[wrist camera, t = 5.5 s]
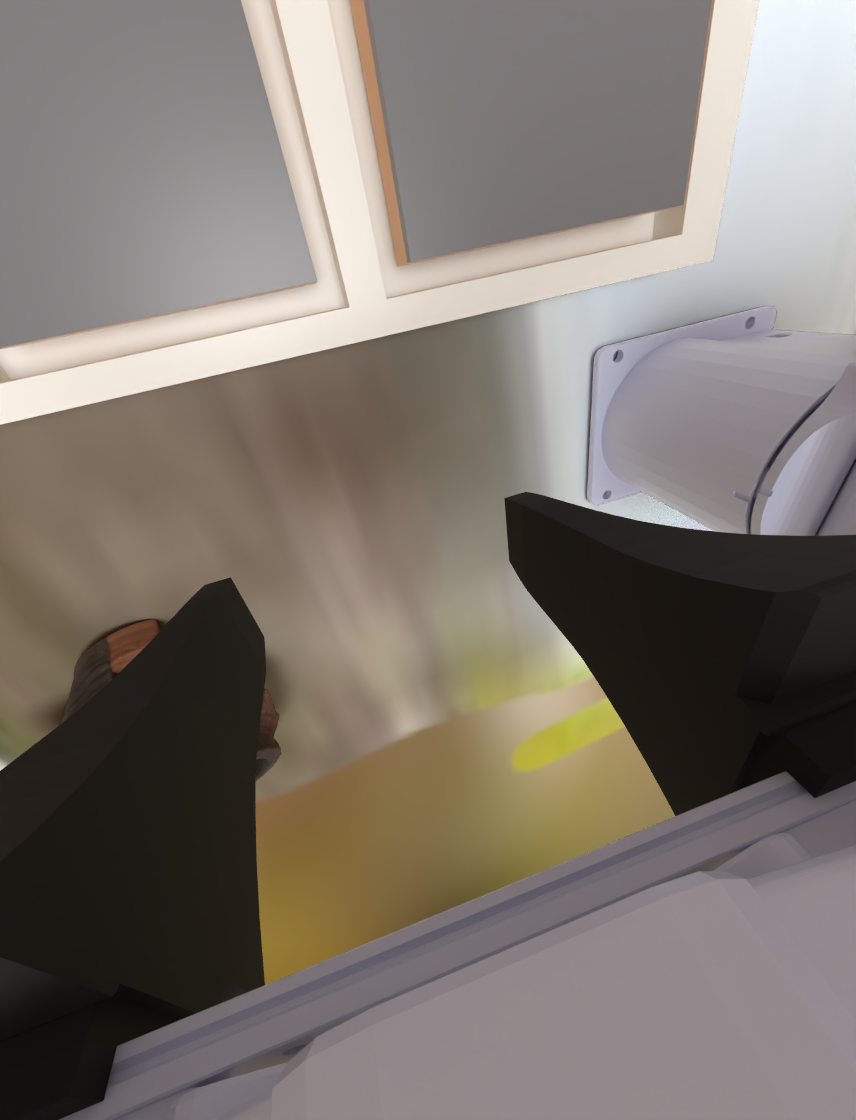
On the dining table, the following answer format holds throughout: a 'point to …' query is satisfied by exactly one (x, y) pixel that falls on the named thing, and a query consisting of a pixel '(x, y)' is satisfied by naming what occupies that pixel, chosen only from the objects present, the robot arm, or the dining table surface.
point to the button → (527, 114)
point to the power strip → (379, 231)
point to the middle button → (136, 166)
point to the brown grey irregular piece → (119, 651)
